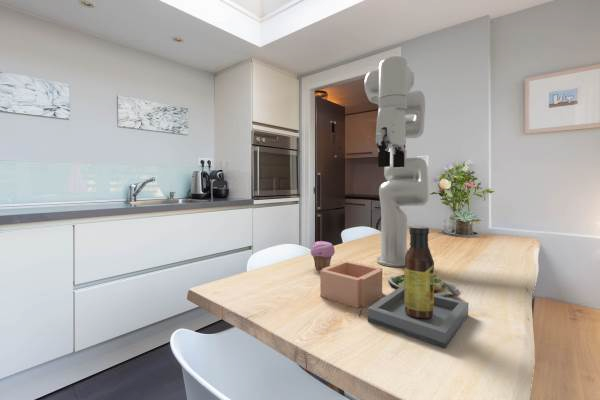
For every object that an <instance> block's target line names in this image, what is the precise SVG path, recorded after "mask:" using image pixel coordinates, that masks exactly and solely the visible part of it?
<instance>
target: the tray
mask: <svg viewBox="0 0 600 400" xmlns="http://www.w3.org/2000/svg"><path fill="white" fill-rule="evenodd" d="M468 316H469V302H467V301H463V300H458V299H454V298H452V297H451V298H450V297H448V296H445V297H443V296H439V295H435V294H434V309H433V315H432V317H430V318H427V319H421V318H415V317H412V316H410V315H408V314H407V313H406V312H405V305H404V287H402V286H401V287H399V288H398V289H396V288H395V290H393V291H391V292H390V293H389V294H387V295H385V296H384V297H382V298H381V299H379V300H378V301H377V302H375V303H373V304H371V306H368V308H367V322H369V323H371V324H374V325H377V326H379V327H383V328H386V329H389V330H391V331H394V332H397V333H400V334H403V335H405V336H407V337H411V338H413V339H417V340H420V341H422V342H425V343H427V344H430V345H434V346H437V347H439V348H442V349H444V348H445V349H446V348H447V347H448V345H449V344H450V343H451V341H452V339H453V338H454V337H455V335H456V333H457V332H458V331H459V330H460V329H461V327H462V325H463V323H465V320H466V319H467V318H468Z"/></svg>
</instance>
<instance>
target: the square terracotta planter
mask: <svg viewBox="0 0 600 400" xmlns="http://www.w3.org/2000/svg"><path fill="white" fill-rule="evenodd" d="M319 271H320V272H319V273H320V279H319V280H320V282H319V283H320V290H319V293H320V294H319V295H320V297H323V298H326V299H328V300H330V301H331V300H332V301H334V302H338V303H341V304H343V305H347V306H351V307H353V308H356V309H359V308H360V307H366V306H369V304H371V303H373V302H374V301H376V300H377V299H379V298H380V297H382V296H383V268H382V267H378V266H374V265H373V266H372V265H369V264H365V263H364V264H363V263H358V262H353V261H349V260H346V261H340V262H338V263H334V264H332V265H331V264H330V266H328V267H326V268H323V269H322V270H319Z"/></svg>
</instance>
